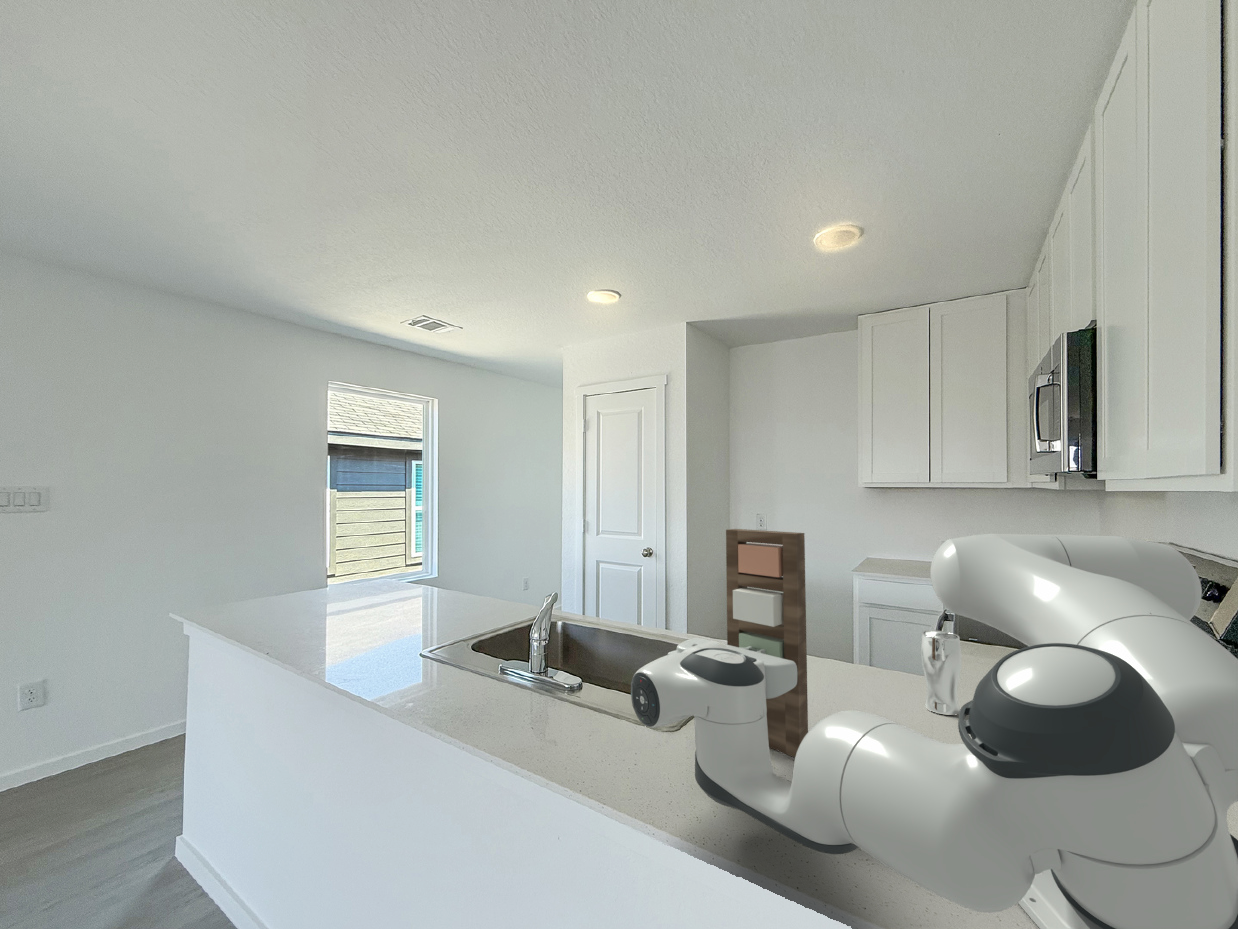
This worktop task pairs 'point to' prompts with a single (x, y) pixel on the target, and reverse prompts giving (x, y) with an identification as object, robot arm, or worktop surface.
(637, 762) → the worktop surface
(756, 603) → the cream key
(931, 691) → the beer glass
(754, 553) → the terracotta key
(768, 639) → the sage key
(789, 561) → the key panel
